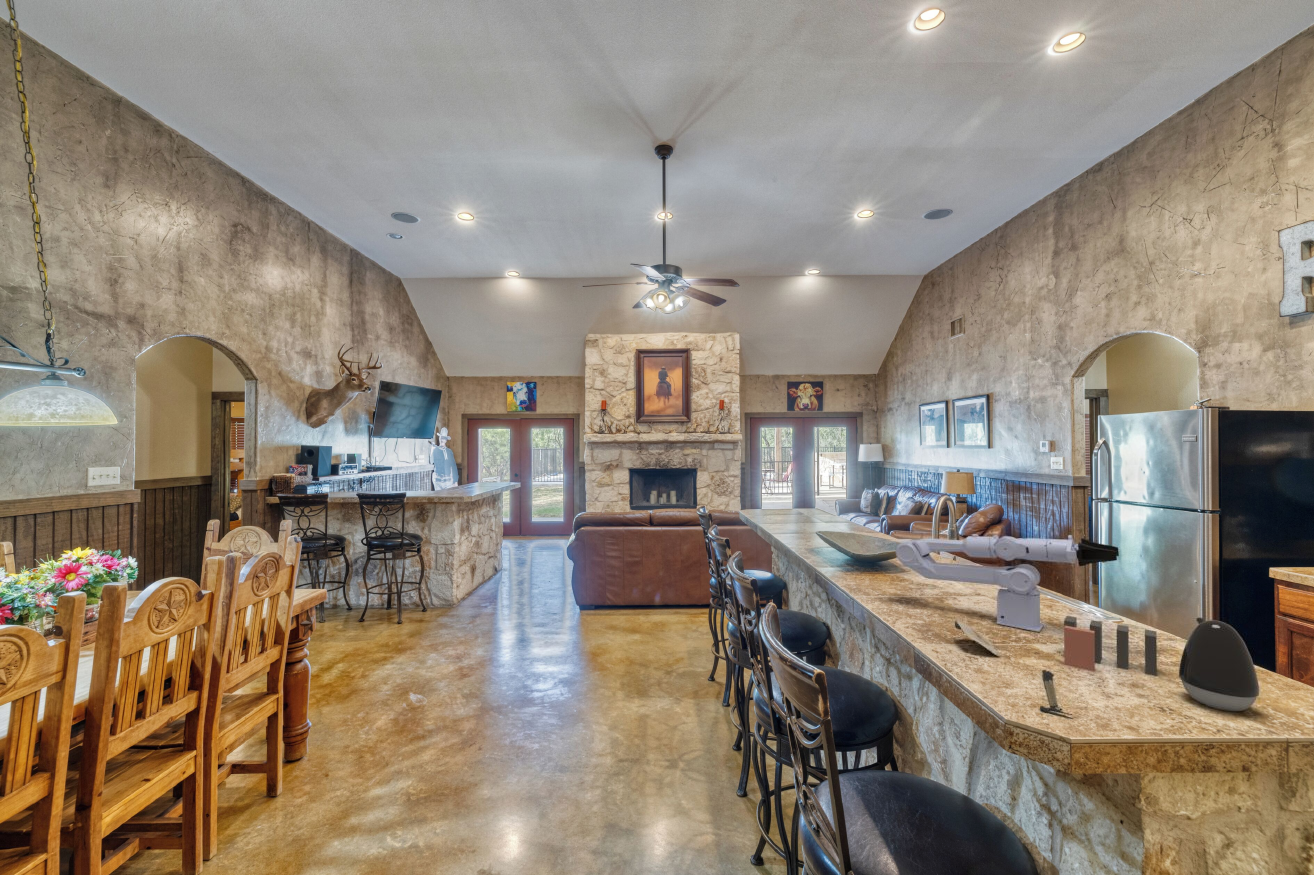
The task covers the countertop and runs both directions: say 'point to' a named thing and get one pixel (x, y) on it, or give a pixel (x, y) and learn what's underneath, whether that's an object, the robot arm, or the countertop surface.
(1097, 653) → the domino
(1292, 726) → the countertop surface
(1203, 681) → the black and grey speaker
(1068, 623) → the domino
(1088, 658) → the loose domino
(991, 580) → the robot arm
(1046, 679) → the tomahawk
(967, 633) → the wooden slab
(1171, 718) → the countertop surface
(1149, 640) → the domino
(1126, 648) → the domino
